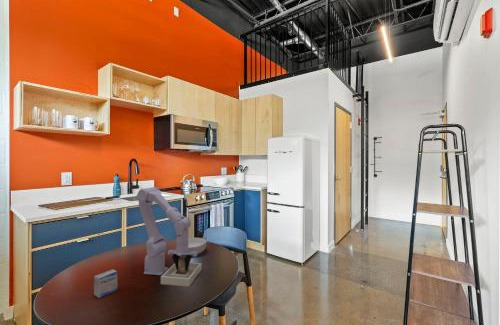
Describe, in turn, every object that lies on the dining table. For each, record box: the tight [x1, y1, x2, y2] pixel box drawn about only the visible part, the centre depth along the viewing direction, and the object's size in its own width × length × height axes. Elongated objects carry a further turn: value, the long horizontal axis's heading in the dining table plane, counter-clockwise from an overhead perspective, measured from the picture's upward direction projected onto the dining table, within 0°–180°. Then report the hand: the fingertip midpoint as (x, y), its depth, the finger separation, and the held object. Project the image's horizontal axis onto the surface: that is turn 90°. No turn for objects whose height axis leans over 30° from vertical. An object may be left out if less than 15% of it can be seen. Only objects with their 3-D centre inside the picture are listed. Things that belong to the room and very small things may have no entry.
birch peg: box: [178, 256, 187, 274], centre depth 122 cm, size 4×4×8 cm
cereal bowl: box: [188, 237, 207, 255], centre depth 151 cm, size 17×17×7 cm
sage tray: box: [160, 261, 202, 288], centre depth 122 cm, size 14×17×4 cm
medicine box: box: [93, 269, 118, 299], centre depth 107 cm, size 8×4×9 cm, turn 148°
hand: (182, 269), depth 122 cm, fingers closed on birch peg, 4 cm apart
